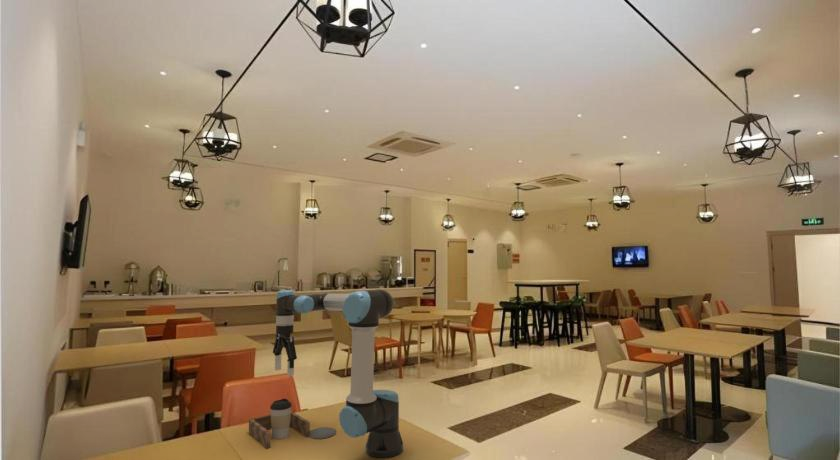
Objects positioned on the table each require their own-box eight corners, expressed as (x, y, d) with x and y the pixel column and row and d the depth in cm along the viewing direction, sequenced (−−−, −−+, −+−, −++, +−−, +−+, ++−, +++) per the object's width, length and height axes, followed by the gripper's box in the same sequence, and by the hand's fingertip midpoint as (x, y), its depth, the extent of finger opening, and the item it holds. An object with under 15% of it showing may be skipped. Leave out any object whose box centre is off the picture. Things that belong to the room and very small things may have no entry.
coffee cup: (284, 440, 182) (285, 404, 183) (265, 439, 184) (266, 403, 185) (294, 432, 191) (295, 398, 192) (276, 431, 193) (277, 397, 194)
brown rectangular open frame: (309, 436, 187) (309, 422, 187) (266, 448, 174) (267, 433, 175) (289, 422, 203) (289, 409, 203) (248, 433, 191) (248, 419, 191)
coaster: (340, 434, 189) (340, 432, 189) (316, 441, 181) (316, 440, 181) (327, 426, 198) (327, 425, 198) (303, 433, 190) (303, 431, 190)
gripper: (305, 326, 186) (304, 376, 184) (281, 321, 205) (280, 366, 203) (288, 328, 181) (287, 379, 179) (266, 322, 200) (265, 369, 198)
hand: (284, 372), depth 191 cm, fingers open, 13 cm apart
